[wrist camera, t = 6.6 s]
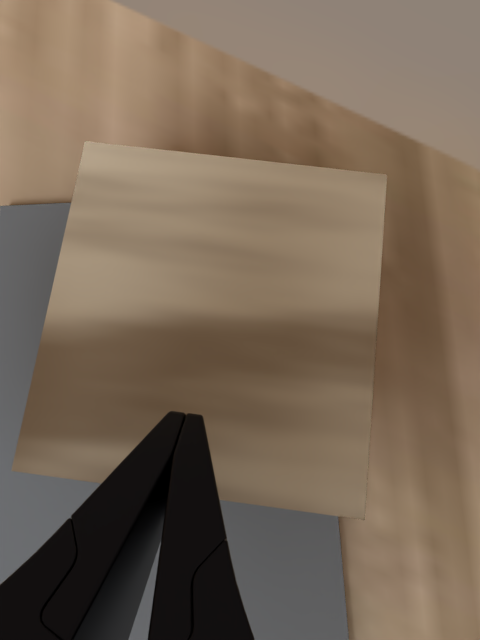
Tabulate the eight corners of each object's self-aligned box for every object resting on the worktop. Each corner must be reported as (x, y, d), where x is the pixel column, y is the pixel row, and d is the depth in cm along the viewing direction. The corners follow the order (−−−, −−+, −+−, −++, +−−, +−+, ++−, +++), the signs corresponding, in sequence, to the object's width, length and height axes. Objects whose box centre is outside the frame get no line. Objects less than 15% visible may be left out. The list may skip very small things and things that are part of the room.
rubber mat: (358, 776, 15) (361, 789, 14) (-34, 795, 15) (-43, 808, 14) (308, 196, 19) (309, 191, 18) (6, 210, 19) (0, 206, 18)
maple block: (365, 519, 11) (387, 174, 13) (11, 471, 12) (85, 140, 14) (328, 484, 16) (348, 234, 18) (79, 450, 16) (126, 208, 18)
